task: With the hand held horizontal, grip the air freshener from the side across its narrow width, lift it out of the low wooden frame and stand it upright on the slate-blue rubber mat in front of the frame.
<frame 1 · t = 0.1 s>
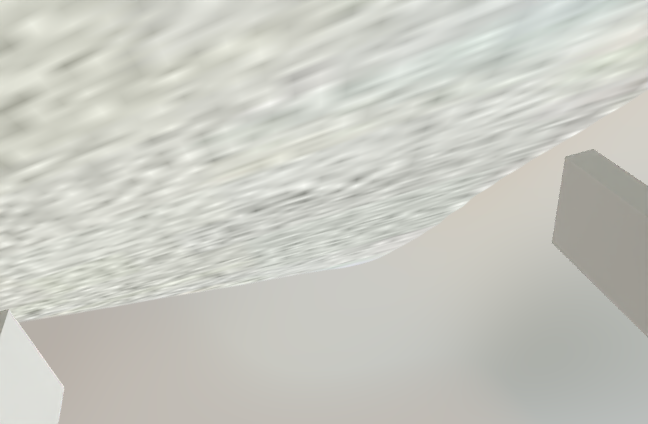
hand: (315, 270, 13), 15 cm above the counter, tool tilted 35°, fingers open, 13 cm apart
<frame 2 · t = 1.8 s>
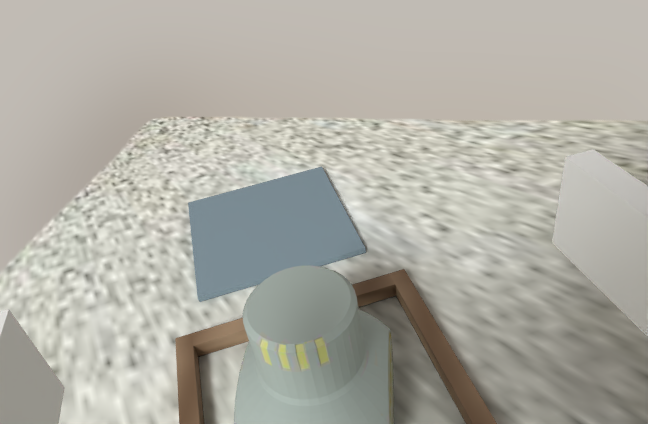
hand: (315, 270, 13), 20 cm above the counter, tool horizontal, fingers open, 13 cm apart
rubber mat: (269, 227, 48), on the counter
wooden frame: (326, 413, 32), on the counter
air freshener: (327, 415, 32), resting in wooden frame
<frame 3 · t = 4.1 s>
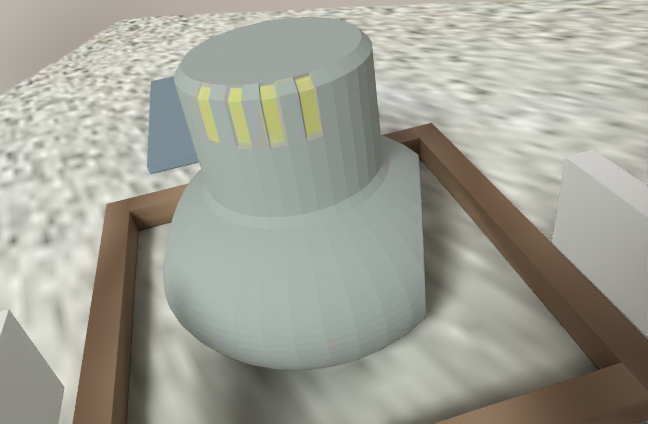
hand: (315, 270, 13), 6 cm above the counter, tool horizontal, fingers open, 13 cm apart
rubber mat: (250, 100, 37), on the counter
wooden frame: (318, 289, 21), on the counter
air freshener: (319, 294, 21), resting in wooden frame
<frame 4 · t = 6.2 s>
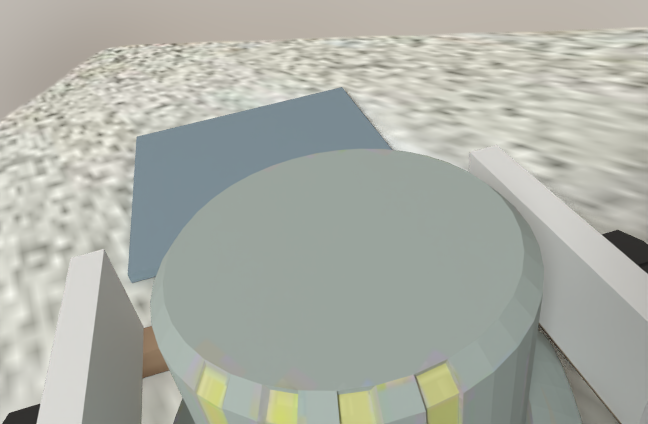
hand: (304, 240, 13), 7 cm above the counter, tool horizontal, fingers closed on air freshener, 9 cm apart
rubber mat: (260, 167, 30), on the counter
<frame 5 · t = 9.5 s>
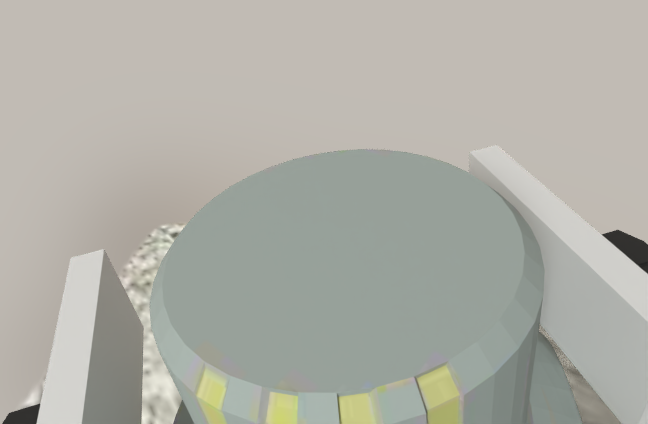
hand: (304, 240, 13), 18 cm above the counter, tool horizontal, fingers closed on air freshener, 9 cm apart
when the fingers open (8 cm above the counter, at t = 12.7 s): air freshener stays where it is, resting on rubber mat.
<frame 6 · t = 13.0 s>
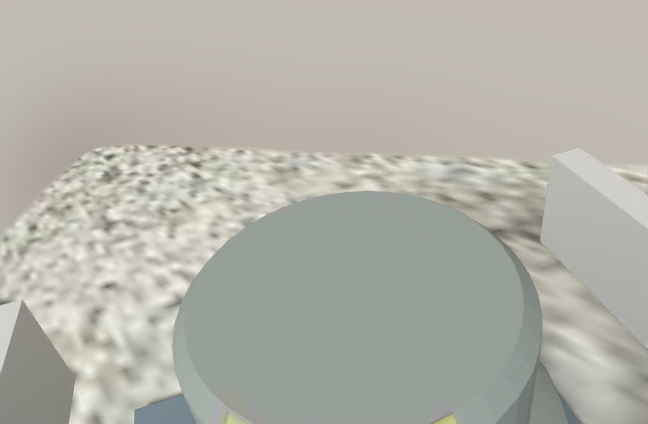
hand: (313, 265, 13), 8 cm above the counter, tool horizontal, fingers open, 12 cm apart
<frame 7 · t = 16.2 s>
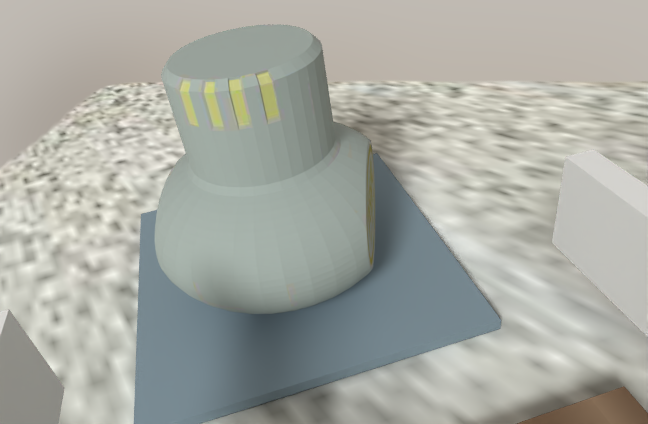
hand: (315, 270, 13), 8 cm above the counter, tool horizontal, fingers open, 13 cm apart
rubber mat: (289, 264, 25), on the counter
air freshener: (289, 260, 25), resting on rubber mat
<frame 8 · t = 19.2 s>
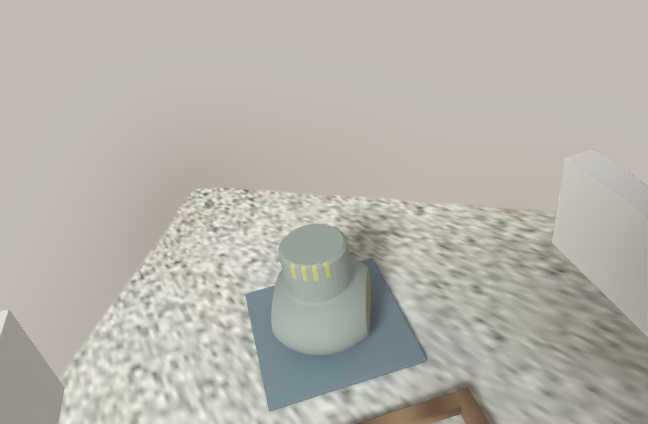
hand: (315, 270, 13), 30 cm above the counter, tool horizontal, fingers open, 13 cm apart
rubber mat: (327, 326, 50), on the counter
air freshener: (327, 324, 50), resting on rubber mat
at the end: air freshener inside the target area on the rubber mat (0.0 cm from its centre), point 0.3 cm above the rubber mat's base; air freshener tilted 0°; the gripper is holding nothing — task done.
